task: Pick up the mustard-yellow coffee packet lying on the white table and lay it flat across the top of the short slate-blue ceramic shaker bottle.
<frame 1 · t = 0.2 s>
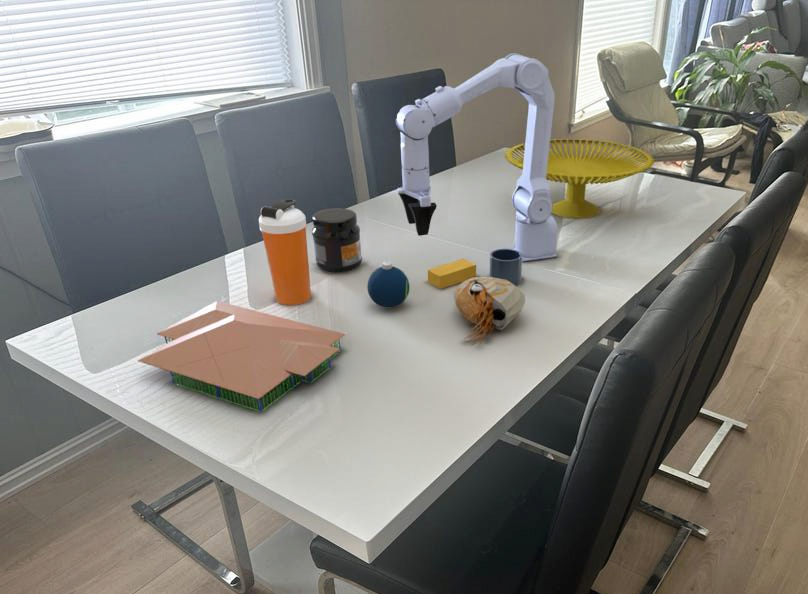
hand: (418, 228, 151), 10 cm above the table, tool pointing down, fingers open, 7 cm apart
house: (244, 362, 121), on the table
christmas ornament: (389, 306, 141), on the table
nautilus: (482, 325, 134), on the table
shaker bottle: (293, 298, 144), on the table
supplement container: (339, 266, 158), on the table
cake stand: (574, 210, 193), on the table
espresso cup: (505, 280, 152), on the table
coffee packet: (452, 279, 152), on the table
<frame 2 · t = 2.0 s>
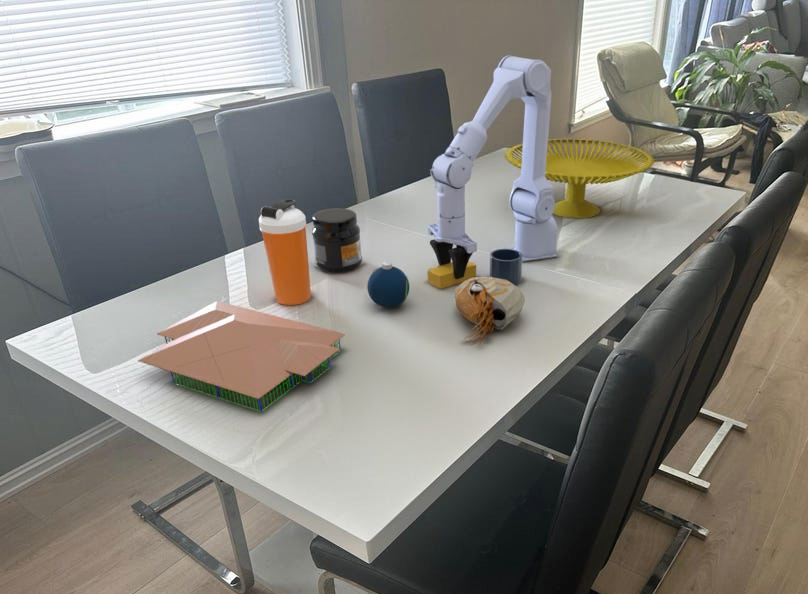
hand: (452, 273, 151), 1 cm above the table, tool pointing down, fingers closed on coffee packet, 4 cm apart
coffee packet: (452, 279, 152), on the table, touching gripper
everything else where it was.
when the fingers open (7 cm above the table, at t = 5.6 s): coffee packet stays where it is, resting on espresso cup.
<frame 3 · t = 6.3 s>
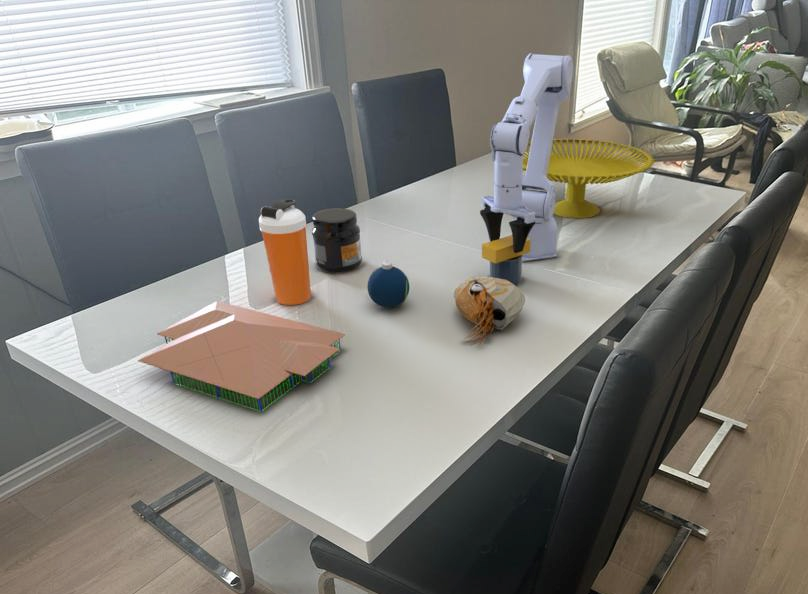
hand: (506, 246, 148), 8 cm above the table, tool pointing down, fingers open, 7 cm apart
espresso cup: (505, 280, 152), on the table, touching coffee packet
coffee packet: (506, 254, 149), point 6 cm above the table, touching espresso cup
everything else where it was.
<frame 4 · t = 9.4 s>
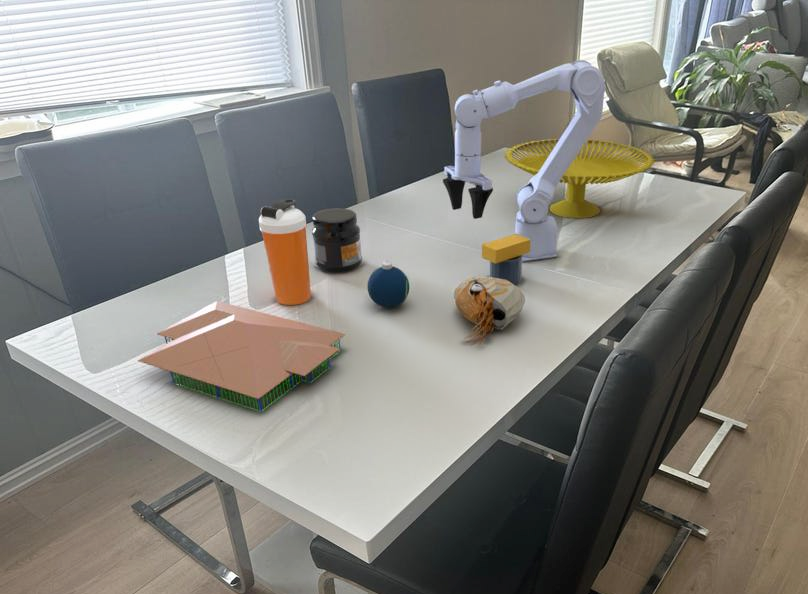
hand: (467, 213, 159), 10 cm above the table, tool pointing down, fingers open, 7 cm apart
nothing on the table moved.
at the end: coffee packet 0.1 cm off-centre on the espresso cup, point 6.0 cm above the espresso cup's base; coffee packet tilted 0°; espresso cup tilted 0° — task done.
